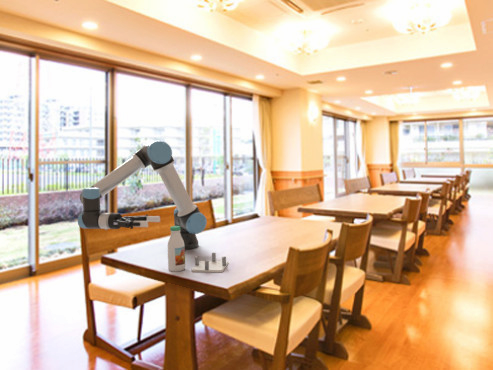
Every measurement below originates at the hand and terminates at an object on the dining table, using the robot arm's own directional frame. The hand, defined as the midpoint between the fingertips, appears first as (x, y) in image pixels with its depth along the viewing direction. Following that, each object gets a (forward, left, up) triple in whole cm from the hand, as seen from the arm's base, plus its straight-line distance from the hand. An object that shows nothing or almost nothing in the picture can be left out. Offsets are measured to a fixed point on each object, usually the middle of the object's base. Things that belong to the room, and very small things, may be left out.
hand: (154, 221), depth 162 cm
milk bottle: (0, +10, -23) cm, 25 cm away
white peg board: (-4, +25, -22) cm, 34 cm away
